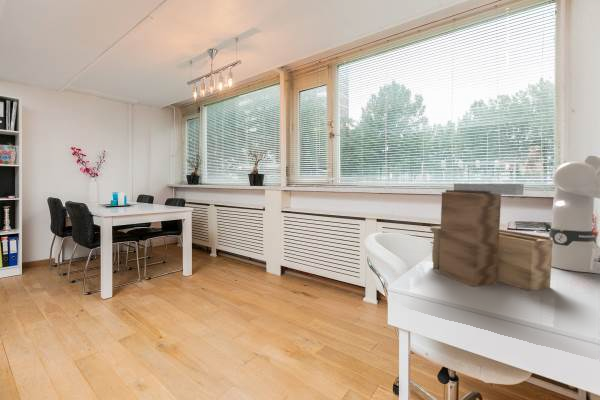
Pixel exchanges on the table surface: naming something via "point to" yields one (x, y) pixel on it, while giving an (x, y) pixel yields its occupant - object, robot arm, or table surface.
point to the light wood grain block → (524, 260)
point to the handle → (436, 246)
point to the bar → (492, 188)
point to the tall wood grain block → (470, 236)
